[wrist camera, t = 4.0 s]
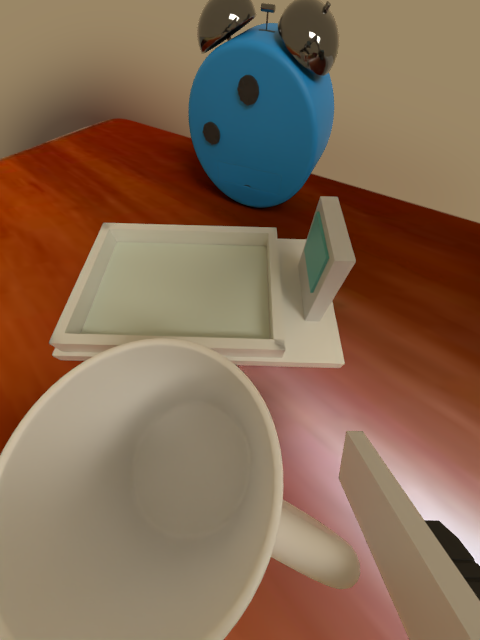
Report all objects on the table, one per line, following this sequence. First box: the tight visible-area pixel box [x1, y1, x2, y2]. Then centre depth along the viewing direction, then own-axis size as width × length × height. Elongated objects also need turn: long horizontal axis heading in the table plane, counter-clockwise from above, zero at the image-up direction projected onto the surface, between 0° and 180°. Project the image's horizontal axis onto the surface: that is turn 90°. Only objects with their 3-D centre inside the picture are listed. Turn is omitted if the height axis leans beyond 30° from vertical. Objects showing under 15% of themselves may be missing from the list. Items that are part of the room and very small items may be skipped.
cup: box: [0, 338, 360, 640], centre depth 11 cm, size 8×12×10 cm
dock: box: [49, 196, 356, 368], centre depth 19 cm, size 22×13×8 cm, turn 89°
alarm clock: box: [189, 0, 339, 208], centre depth 23 cm, size 13×6×15 cm, turn 64°
